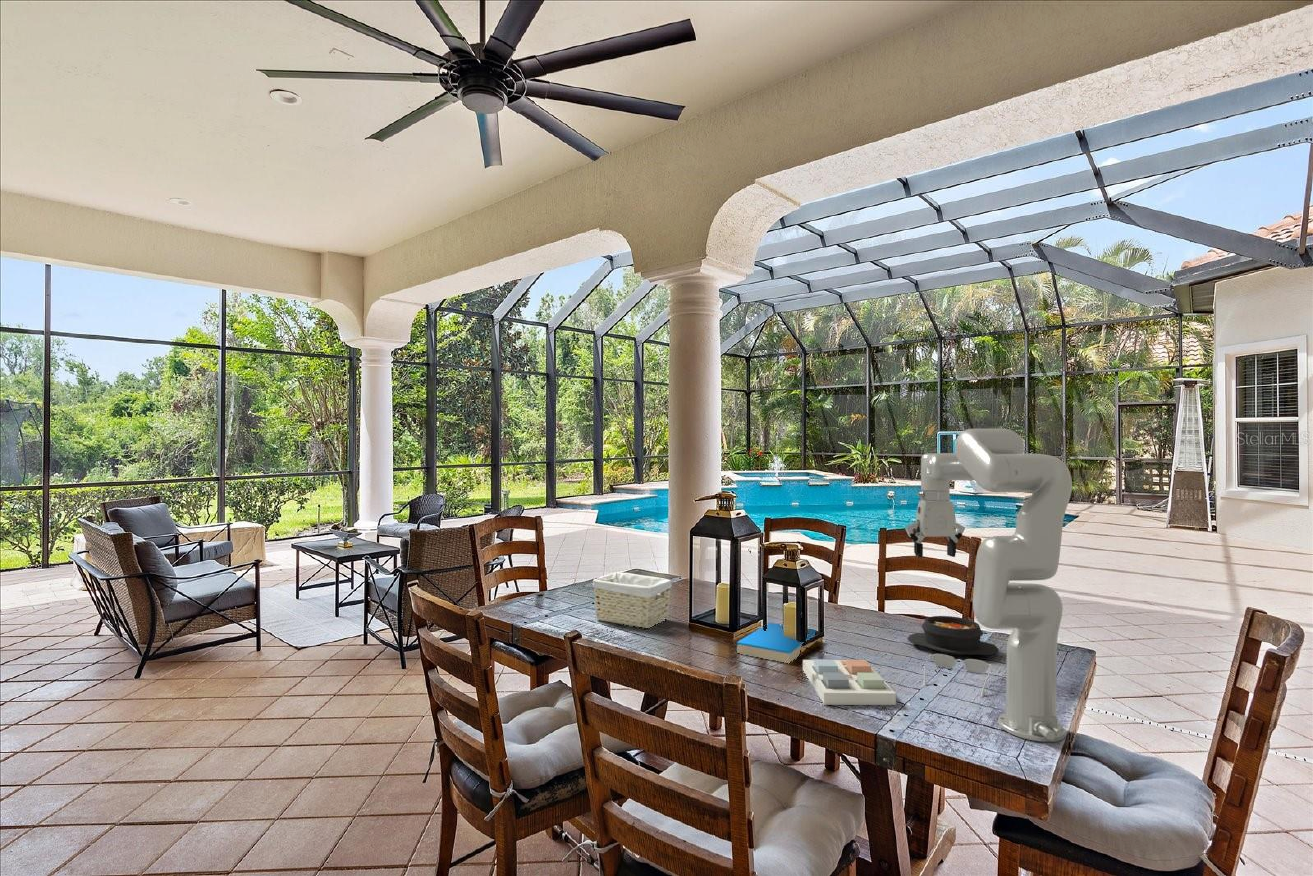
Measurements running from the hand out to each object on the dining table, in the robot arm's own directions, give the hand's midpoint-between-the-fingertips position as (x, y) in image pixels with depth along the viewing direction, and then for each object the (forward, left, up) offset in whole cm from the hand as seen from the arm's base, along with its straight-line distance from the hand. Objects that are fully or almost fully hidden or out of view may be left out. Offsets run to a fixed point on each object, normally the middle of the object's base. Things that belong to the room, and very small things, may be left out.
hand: (935, 556), depth 184 cm
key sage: (-26, +27, -27) cm, 46 cm away
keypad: (-20, +31, -30) cm, 48 cm away
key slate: (-26, +35, -27) cm, 52 cm away
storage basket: (+39, +88, -30) cm, 102 cm away
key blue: (-17, +35, -27) cm, 48 cm away
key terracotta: (-17, +27, -27) cm, 42 cm away
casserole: (+10, -9, -30) cm, 33 cm away
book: (+11, +43, -31) cm, 54 cm away
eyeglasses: (-15, +1, -31) cm, 34 cm away
